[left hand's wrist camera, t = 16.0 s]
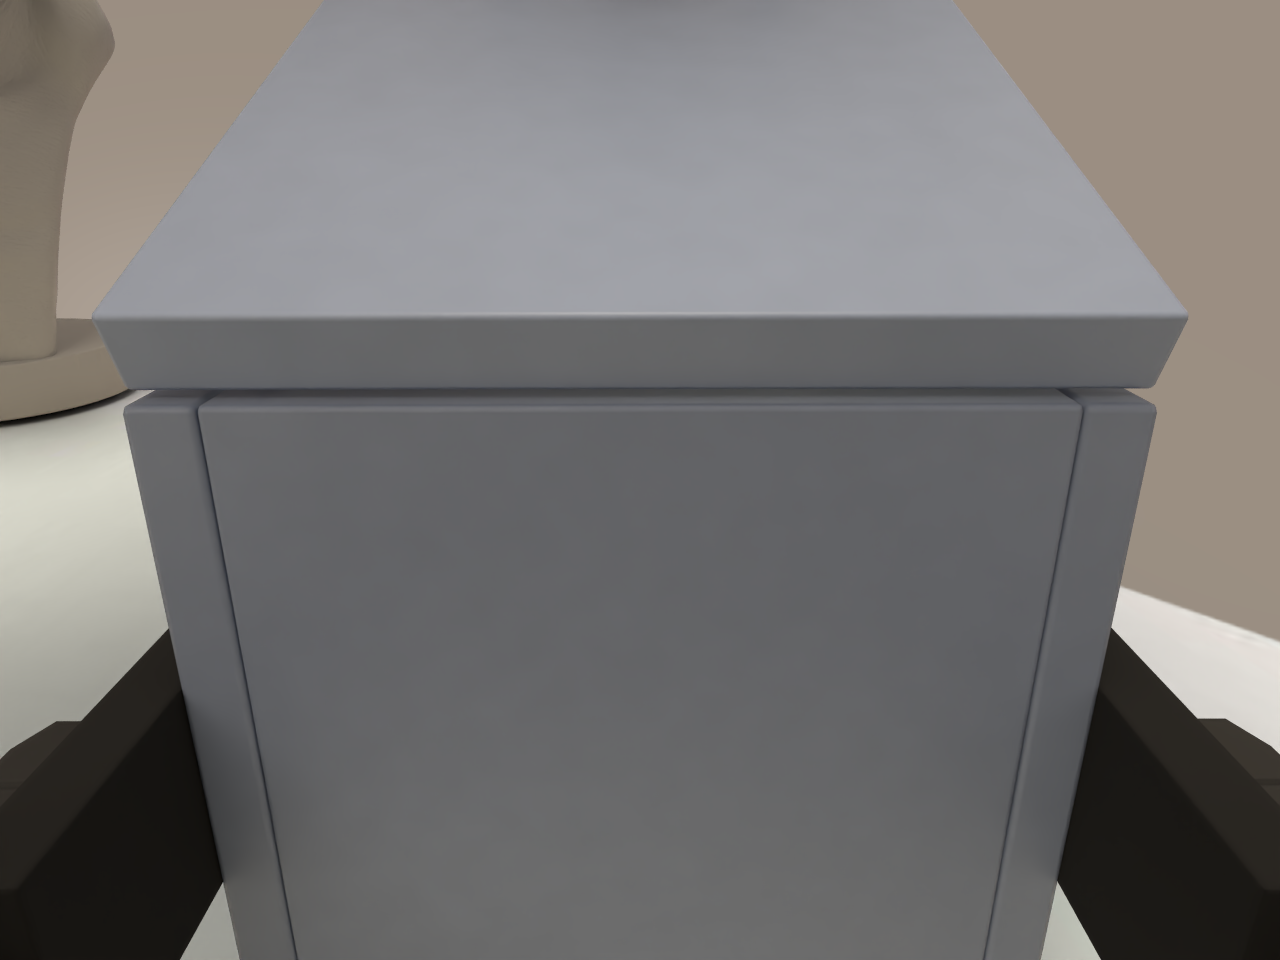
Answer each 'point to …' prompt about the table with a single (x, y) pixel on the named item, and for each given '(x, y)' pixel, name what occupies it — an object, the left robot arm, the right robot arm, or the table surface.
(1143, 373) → the lid
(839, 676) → the chest
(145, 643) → the table surface
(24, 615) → the table surface
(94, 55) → the bust sculpture
